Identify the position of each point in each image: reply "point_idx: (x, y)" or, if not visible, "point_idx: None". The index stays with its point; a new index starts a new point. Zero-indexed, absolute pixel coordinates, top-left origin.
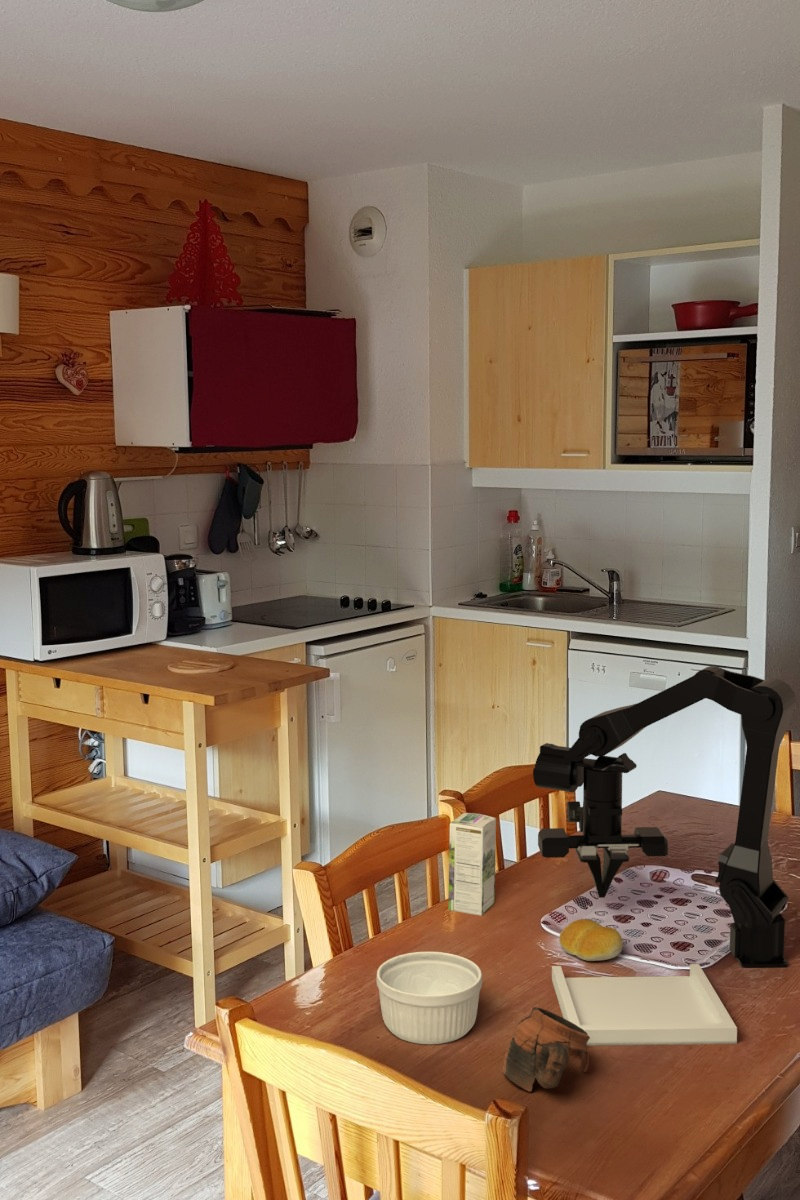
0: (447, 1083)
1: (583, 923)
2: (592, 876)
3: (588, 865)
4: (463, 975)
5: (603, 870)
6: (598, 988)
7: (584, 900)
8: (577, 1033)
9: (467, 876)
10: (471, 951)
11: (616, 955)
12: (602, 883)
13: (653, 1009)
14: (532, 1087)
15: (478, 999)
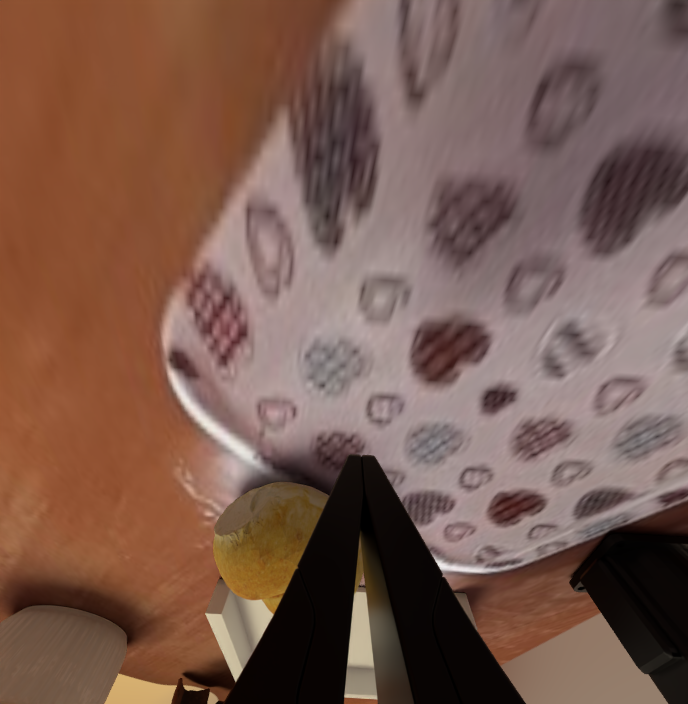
0: (134, 676)
1: (259, 599)
2: (305, 552)
3: (242, 672)
4: (50, 699)
5: (390, 645)
6: None
7: (346, 130)
8: None
9: None
10: (35, 492)
11: None
12: (365, 547)
13: (356, 641)
14: (208, 696)
15: (103, 698)
